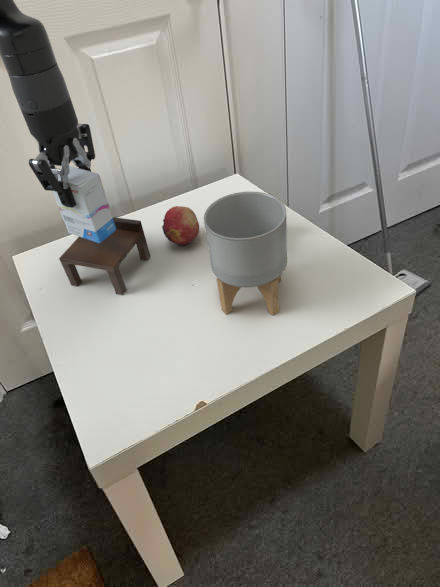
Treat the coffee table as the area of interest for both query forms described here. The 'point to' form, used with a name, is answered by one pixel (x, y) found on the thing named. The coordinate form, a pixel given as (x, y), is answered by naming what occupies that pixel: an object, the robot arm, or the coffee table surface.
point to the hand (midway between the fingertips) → (80, 196)
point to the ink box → (87, 206)
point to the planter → (247, 245)
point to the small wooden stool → (106, 252)
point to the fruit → (180, 225)
